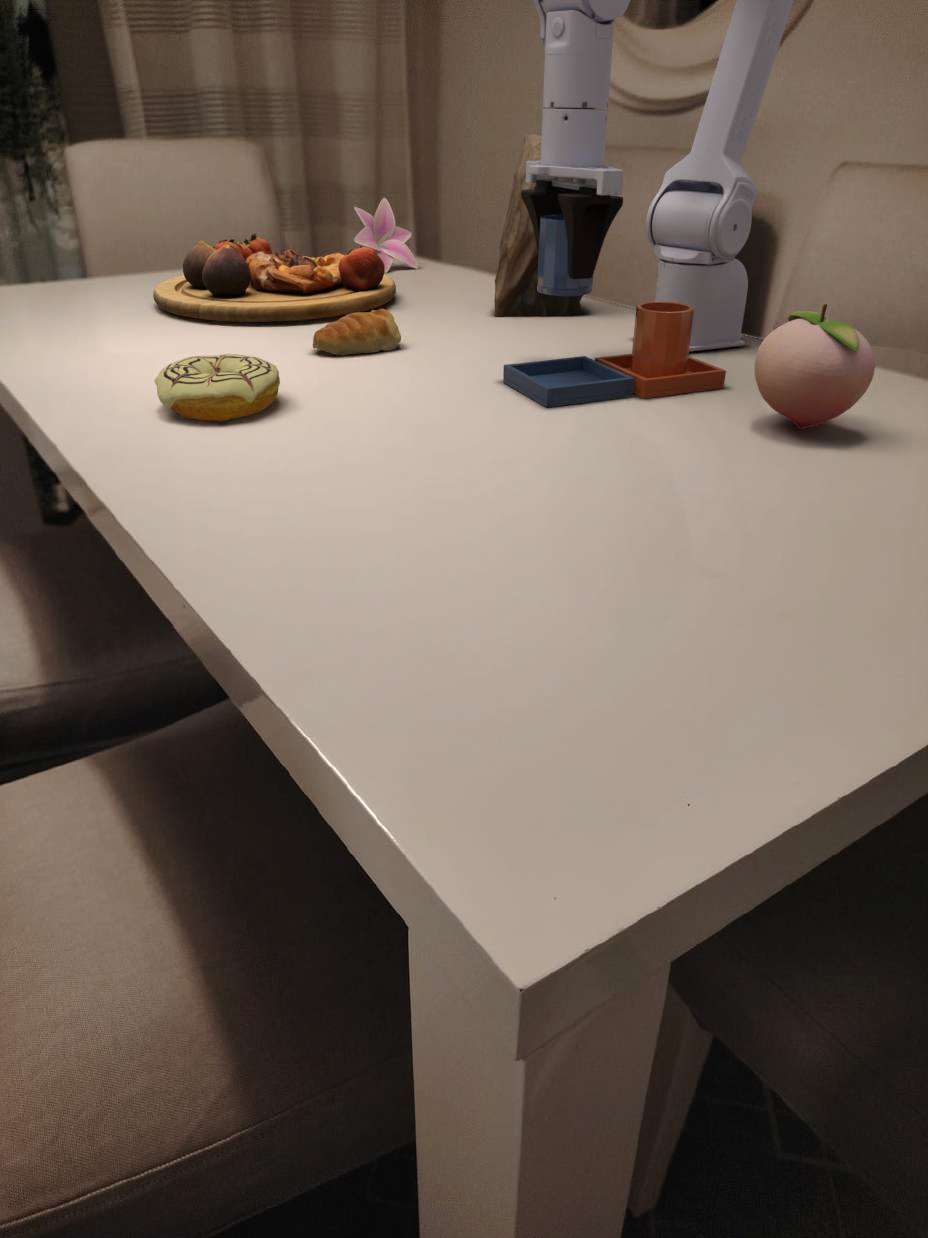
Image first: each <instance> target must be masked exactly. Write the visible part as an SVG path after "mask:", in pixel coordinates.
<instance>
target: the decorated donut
mask: <svg viewBox="0 0 928 1238" xmlns="http://www.w3.org/2000/svg"><path fill="white" fill-rule="evenodd" d="M280 380H281V379H280V371H279V369H278V368H277V366H276V365H275V364H274V363H271V362H270V361H266V360H264V359H262V358H260V357H258V356H257V357H255V356H250V355H244V354H238V353H237V354H236V353H225V354H216V355H194V356H189V357H186V358H183V359H180V360H176V361H174V362H171V363H170V364H167V365H166V366H165V367H163V368H162V369H160V371H159V373H158V375H157V376H156V377H155V378H154V383H155V385H156V390H157V391H156V394H157V397H158V399H159V402H160V403H161V404H162V405H163V406H165V407H166V408H168V409H170V410H171V411H173V412H175V413H177V414H178V415H180V417H181V418H183V419H186V420H187V419H188V420H189V419H192V420H197V421H205V422H206V421H216V422H224V421H227V420H235V419H239V418H243V417H248V416H252V415H253V414H259V413H262V412H263V411H264V410H265V409H266V408H267V409H268V407H269V406H270V405H271V404H272V403H273V402H274V401H275V400H276V399H277V397H278V393H279V387H280V385H281V381H280Z"/></svg>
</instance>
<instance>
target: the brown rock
mask: <svg viewBox="0 0 928 1238" xmlns="http://www.w3.org/2000/svg"><path fill="white" fill-rule="evenodd" d="M541 136H542V134H537V133H536V134H534V133H527V134H525V136H524V138H523V144H522V145H523V146H522V149H521V151H520V155H519V159H518V161H517V165H516V168H515V171H514V174H513V183H512V188H511V192H510V196H509V202H508V207H507V211H506V216H505V220H504V225H503V229H502V233H501V237H500V241H499V242H500V244H499V257H498V258H499V259H498V266H497V269H496V275H495V277H494V301H493V302H494V314H493V316H494V317H549V316H550V317H551V316H559V317H573V316H579V315H580V316H581V315H584V314H585V312H584V311H583V310H582V307H581V300H582V298H583V296H584V295H579V296H556V295H548V294H543V293H540V292H538V291H537V285H538V283H537V280H538V257H539V256H538V250H537V245H536V239H535V234H534V229H533V225H532V222H531V219H530V216H529V213H528V210H527V208H526V206H525V204H524V202H523V200H522V198H521V191H522V190H531V189H534V187H535V186H536V183H526V161H540V160H541ZM573 179H574V178H558V180H563V181H569V182H573ZM576 183H583V184H585V183H584V182H576Z"/></svg>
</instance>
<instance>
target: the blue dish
mask: <svg viewBox="0 0 928 1238" xmlns="http://www.w3.org/2000/svg"><path fill="white" fill-rule="evenodd" d="M502 374H503V376H502V377H503V378H502V382H503V383H504V384H505V385H507V386H509V387H511V388H512V389H514V390H516V391H518V392H519V393H520V394H523V395H524V396H526V397H528V398H529V399H530V400H533V401H535V402H536V403H538V404H540V405H542V406H543V407H545V408H553V407H561V406H569V405H578V404H585V403H591V402H592V403H593V402H601V401H607V400H609V401H610V400H616V399H624V398H632V397H633V396H634V394H633V388H634V378H633V377H630V376H628V375H626V374H624V373H622V372H619V371H617V370H615V369H613V368H610V367H608V366H606V365H604V364H602V363H599V362H597V361H595V359H592V358H590V357H588V356H586V355H581V356H573V357H563V358H554V359H553V358H552V359H544V360H536V361H529V362H528V361H527V362H526V361H525V362H517V363H516V362H515V363H509V364H503V372H502Z"/></svg>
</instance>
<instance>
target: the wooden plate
mask: <svg viewBox="0 0 928 1238" xmlns="http://www.w3.org/2000/svg"><path fill="white" fill-rule="evenodd" d="M384 266H385V265H384V263H383V261H382V259H381V258H380V257H379V256H378V253H377V250H374V249H373V248H370V247H367V246H360V247H358V248H351V249H350V250H349V251H347V253H346V254H342V253H340V252H334V253H331V254H327V255H325V256H318V257H310V256H306V255H305V256H304V255H300V254H299V253H297V252H296V251H295V250H293V249H292V248H288V249H281V250H280V253H279V252H275V253H274V254H273V251H272V247H271V245H270V243H269V242H268V241H267V240H266V239H264V238H262V237H261V235H259V236H258V235H257V233H252V234H251V236H250V238H245V239H244V241H243V242H242V241H235V239H234V238H233V239H232V238H231V239H229V240H228V239H221V240H220V241H219V242H218V243H217V244H216V245H214V246H211V245H209V244H208V243H206V242H204V241H203V240H199V241H198V242H197V244H194V245H193V247H191V249H189V251H188V252H187V254H186V256H185V258H184V260H183V262H182V272H183V274H182V275H177V276H175V277H171V278H169V279H166V280H164V281H162V282H160V283H158V284H157V285H156V286H155V287H154V289H153V294H152V296H153V297H152V298H153V300H154V303H155V304H156V305H157V306H158V308H160V309H161V310H162V311H163V310H164V311H165V312H167V313H171V314H173V315H176V316H180V317H181V316H182V317H187V318H192V319H199V320H208V321H218V322H237V323H238V322H239V323H269V322H293V321H305V320H315V319H324V318H325V319H326V318H333V317H340V316H346V315H349V314H351V313H358V312H360V313H362V312H365V311H369V310H373V309H375V308H379V307H381V306H384V305H385V304H387V303H388V302H390V301H391V300H392V299H393V298H394V297H395V295H396V293H397V285H396V283H395V280H394V279H393V278H392V277H391V276H390V275H388V274H386V273H385V272H384V271H385V268H384Z"/></svg>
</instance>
